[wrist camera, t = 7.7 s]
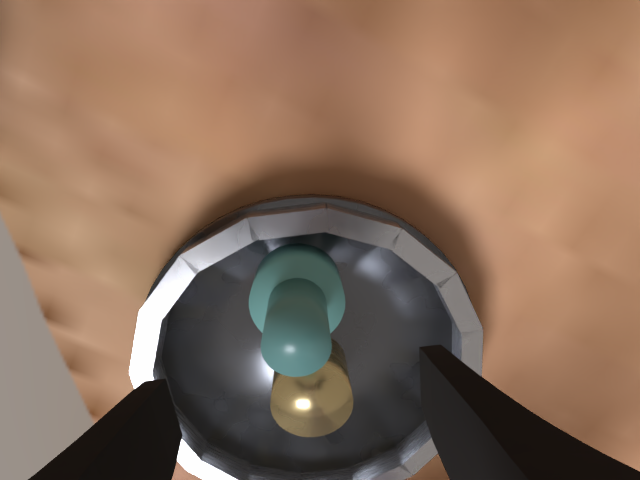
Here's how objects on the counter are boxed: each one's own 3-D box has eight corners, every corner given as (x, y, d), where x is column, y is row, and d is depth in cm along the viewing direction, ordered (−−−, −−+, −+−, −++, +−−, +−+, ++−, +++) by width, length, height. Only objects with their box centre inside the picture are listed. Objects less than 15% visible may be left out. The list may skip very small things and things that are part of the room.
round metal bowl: (467, 456, 22) (497, 517, 19) (185, 491, 22) (164, 560, 19) (473, 173, 17) (517, 187, 13) (99, 218, 17) (48, 244, 13)
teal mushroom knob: (346, 313, 18) (362, 384, 13) (265, 327, 18) (251, 404, 13) (333, 235, 17) (345, 284, 12) (245, 251, 17) (223, 306, 12)
